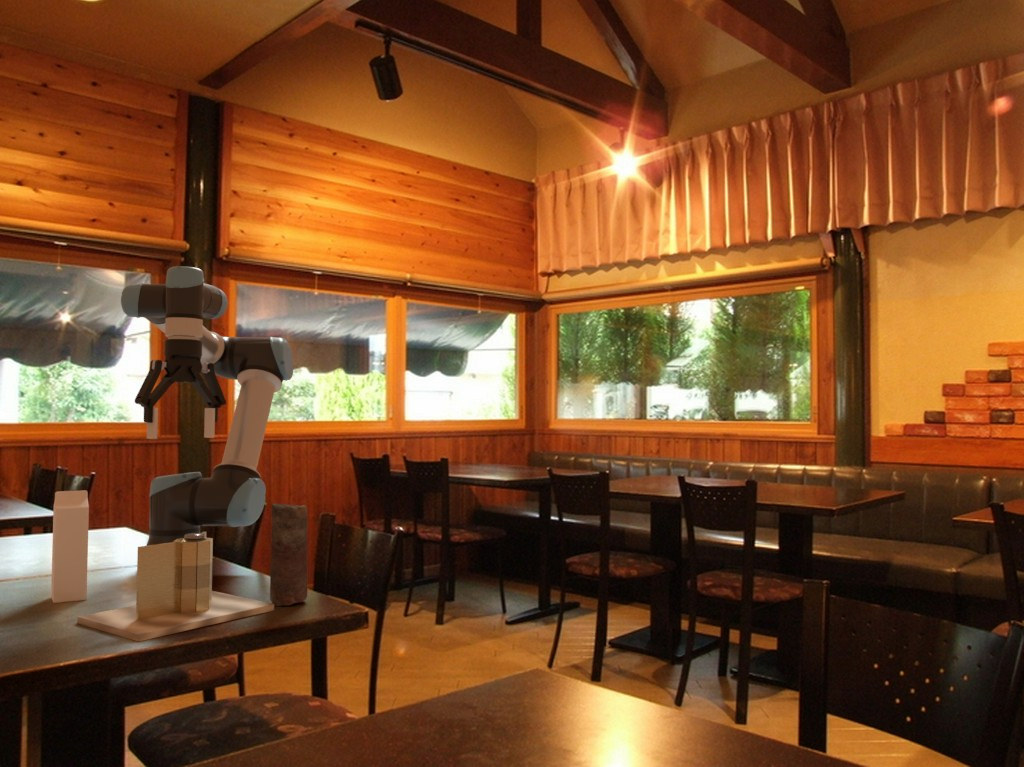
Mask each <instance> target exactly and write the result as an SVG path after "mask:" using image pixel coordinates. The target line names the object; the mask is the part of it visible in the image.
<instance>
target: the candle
mask: <svg viewBox="0 0 1024 767" xmlns="http://www.w3.org/2000/svg"><path fill="white" fill-rule="evenodd" d="M270 509H271V514H270V516H271V517H270V518H271V519H270V520H271V521H270V522H271V523H270V526H271V527H270V532H271V533H270V534H271V535H270V571H269V572H270V573H269V574H270V575H269V576H270V577H269V578H270V579H269V581H270V582H269V589H270V590H269V601H270V603H272V604H274V607H283V606H292V605H294V604H298V603H299V604H301V603H302V602H304V601H306V600H307V598H308V583H309V582H308V506H307V505H306V504H303V505H297V504H284V503H272V504H271V507H270Z"/></svg>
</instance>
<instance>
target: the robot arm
mask: <svg viewBox="0 0 1024 767" xmlns="http://www.w3.org/2000/svg"><path fill="white" fill-rule="evenodd" d="M165 279H166V280H165V283H137V284H129V285H126V286H124V288H123V289H122V291H121V295H120V296H121V297H120V304H121V308H122V311H123V313H124V314H125V315H126V316H128V317H131V318H137V319H139V318H145V319H146V320H147V321H148V322H150V323H151V325H152V324H153V325H154V326H155V327H156V328H157V329H158V330H160V331H161V332H162V333H164V336H165V337H166V338H167V339H165V341H164V353H163V354H164V357H165V359H164V361H163V360H161V359H152V360H151V361H150V363H149V370H148V372H147V374H146V377H145V379H144V380H143V382H142V385H141V387H140V389H139V390H138V393H137V394H136V396H135V399H134V403H135V404H137V405H140V407H142V408H143V423H146V440H147V439H149V440H158V428H159V427H158V424H159V422H158V421H159V407H155V406H156V404H157V403H158V402H159V401H160V399H161V398H162V397H163V396H164V395H165V393H166V392H167V391H168V390H169V388H170V387H171V386H172V385H173V384H175V383H182V384H183V383H185V384H186V383H189V384H190V385H192V386H193V387H194V388H195V390H196V391H197V393H198V394H199V396H200V397H201V399H202V400H203V401H204V403H205V404H206V405H207V407H204V419H203V420H204V424H203V426H204V429H203V430H204V432H203V438H207V439H208V438H209V439H211V438H212V439H213V438H215V436H216V435H215V434H216V433H215V429H216V427H215V426H216V423H217V422H218V419H219V418H218V417H219V416H218V415H219V412H218V411H219V408H221V407H222V406H224V405H226V404H227V400H226V398H225V395H224V393H223V390H222V388H221V385H220V383H219V381H218V378H217V376H218V377H220V378H223V379H227V380H235V381H236V380H237V383H238V384H239V385H240V389H239V392H238V398H237V400H236V404H235V408H234V412H233V417H232V420H231V424H230V428H229V432H228V435H227V436H228V437H227V440H226V443H225V444H226V445H225V448H224V451H223V452H224V453H223V455H222V460H221V463H219V464H216V465H215V466H214V467H213V468H212V469H213V470H212V473H211V476H210V477H203V474H202V473H201V471H193V472H192V471H191V472H184V473H175V474H170V475H161V476H157V477H154V478H153V479H152V480H151V482H150V489H149V495H148V497H149V512H148V514H149V518H148V519H149V521H148V522H149V524H148V526H149V527H148V528H149V530H148V539H147V542H146V545H145V546H148V545H156V544H163V543H171V542H174V540H176V539H181V538H185V534H189V533H201V526H202V527H209V526H210V527H231V528H237V527H248V526H249V527H250V526H251V525H253V524H254V523H256V521H257V520H258V519H259V518H260V516H261V514H262V512H263V510H264V507H265V504H266V494H267V492H266V491H267V490H266V489H267V488H266V484H265V482H264V481H263V480H262V476H261V474H260V472H259V471H258V470H257V469H258V465H259V460H260V455H261V451H262V447H263V443H264V438H265V434H266V430H267V425H268V421H269V416H270V413H271V408H272V405H273V404H272V403H273V398H274V395H275V393H278V392H279V391H280V390H281V389H282V386H283V381H285V382H286V381H290V380H291V379H292V377H293V375H294V358H293V357H294V356H293V352H292V349H291V347H290V344H289V342H288V341H287V340H286V339H285V338H284V337H273V336H269V337H267V336H266V337H260V336H259V337H256V336H254V337H253V336H250V337H249V336H246V337H245V336H243V337H242V336H241V337H239V336H223V335H220V334H219V333H217V332H214V331H211V330H208V328H206V327H205V326H204V325H203V324H204V320H203V319H205V320H214V319H218V318H221V317H222V316H223V315H224V314H225V313H226V311H227V309H228V306H229V299H228V297H227V294H225V292H224V291H223V290H222V289H220V288H218V287H217V286H215V285H212V284H211V285H210V284H208V283H205V277H204V271H203V270H202V269H200V268H198V267H193V266H183V265H181V266H172V267H169V268H168V269H167V271H166V278H165ZM163 371H165V372H166V373H165V374H164V375H163V376H162V377H161V379H160V381H159V382H158V379H159V378H160V376H161V373H162V372H163ZM201 372H202V373H203V377H204V378H203V377H202V375H201V374H200V373H201ZM204 380H205V381H206V382H204ZM157 382H158V384H157V385H156V383H157Z"/></svg>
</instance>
